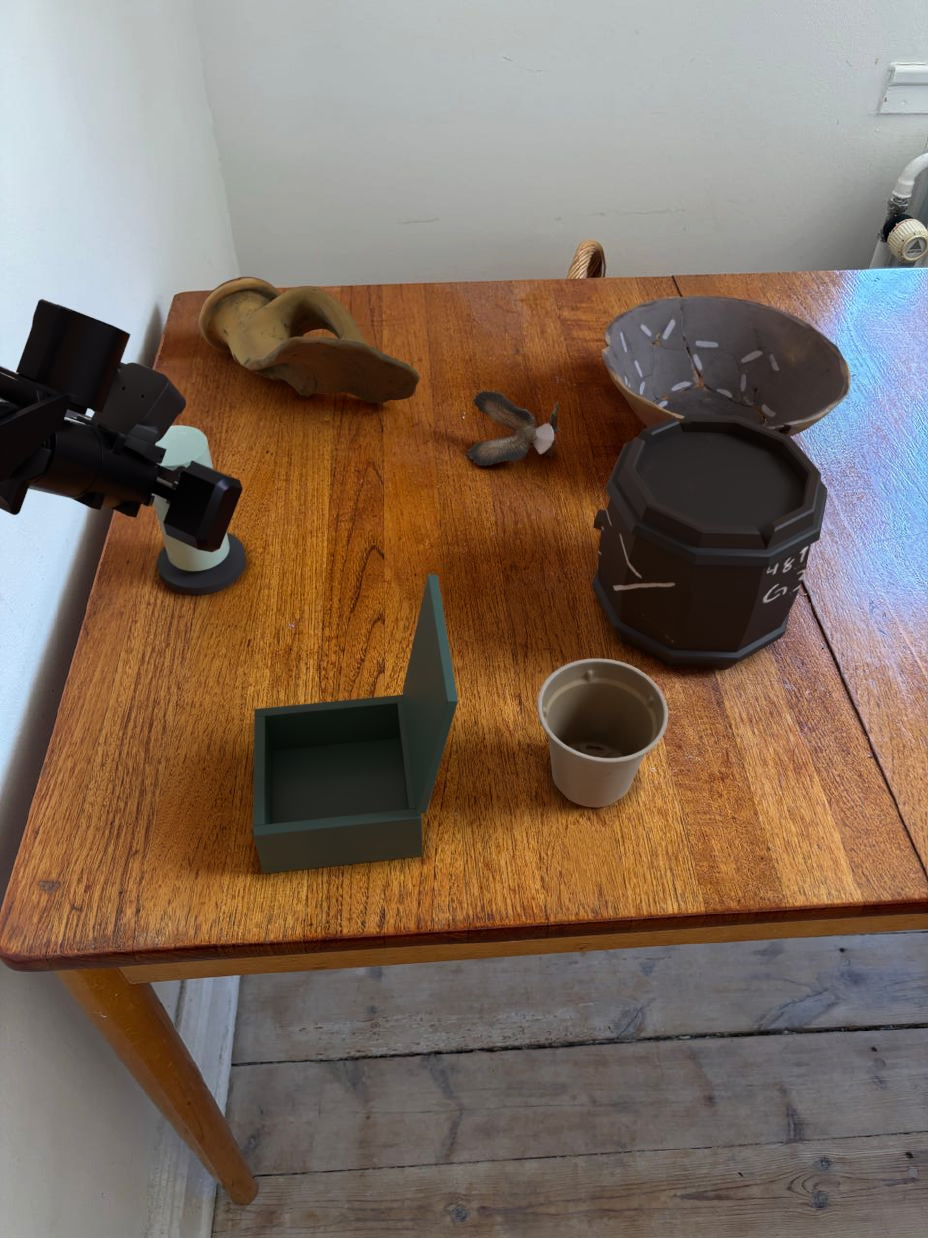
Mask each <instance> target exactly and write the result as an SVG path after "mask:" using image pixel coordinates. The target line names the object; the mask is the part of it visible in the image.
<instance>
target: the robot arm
mask: <svg viewBox="0 0 928 1238" xmlns="http://www.w3.org/2000/svg"><path fill="white" fill-rule="evenodd" d="M131 335H132V334H131V333H129V332H127V331H126V330H124V329H122V328H119V327H117V326H115V325H113V324H110V323H107V322H105V321H102V320H101V319H97V318H94V317H93V316H90V315H87V314H84V313H82V312H79V311H77V310H74V309H72V308H69V307H66V306H63V305H61V304H58V303H54V302H51V301H49V300H48V299H47V300H46V299H44V298H41V299H39V300H38V301H37V304H36V307H35V310H34V313H33V316H32V322H31V327H30V331H29V334H28V336H27V339H26V342H25V345H24V348H23V351H22V353H21V357H20V359H19V362H18V365H17V368H16V370H13V369H10V368H8V367H6V366H3V365H1V364H0V510H2V511H4V512H6V513H8V514H10V515H12V516H17V515H19V514H20V512H21V510H22V508H23V504H24V502H25V499H26V496H27V494H28V492H29V490H32V491H36V492H41V493H46V494H50V495H55V496H58V497H63V498H68V499H70V500H73V501H75V502H78V503H79V504H82V505H84V506H85V507H88V508H90V509H92V510H93V509H94V510H98V511H101V510H102V507H107V508H110V509H112V510H114V511H116V512H118V513H120V514H123V515H124V516H127V517H130V518H135V519H136V518H137V517H138V514H139V511H140V508H141V506H142V505H143V506H145V507H147V508H151V507H153V506H154V503H153V502H154V499H155V496H153V495H152V493H153V494H155V495H157V496H160V497H162V498H164V499H166V504H168V505H169V508H168V511H167V513H166V516H165V519H164V521H163V524H164V528H165V531H166V535H168V536H170V537H172V538H174V539H176V540H179V541H181V542H183V543H185V544H187V545H189V546H191V547H193V548H195V549H198V550H201V551H207V552H214V551H216V550H218V549H220V548H221V545H222V542H223V540H224V537H225V535H226V532H227V533H228V529H229V527H230V524H231V521H232V519H233V516H234V514H235V511H236V508H237V506H238V503H239V501H240V498H241V495H242V492H243V489H244V488H243V486H242V482H241V480H240V479H238V478H235V477H234V476H231V475H229V474H227V473H224V472H222V471H220V470H217V469H216V468H214V467H213V468H210V467H207V466H205V465H202V464H199V463H197V462H195V461H193V460H192V461H191V463H190V465H189V466H188V467H185V466H178V467H177V468H176V469H175V470H171V469H169V468H167V467H165V466H162V465H160V464H161V463H162V461H163V458H164V456H165V453H166V450H167V449H165V448H163V447H160V446H158V445H155V444H156V442H158V441H160V440H161V439H162V438H163V437H164V435H165V434H166V432H167V431H168V429H169V428H170V426H173V423H174V422H175V420H176V419H177V418H178V417H179V415H181V414H182V413H183V412H184V410H185V409H186V407H187V400H186V398H185V397H184V395H183V394H182V393H181V392H180V391H179V390H178V389H177V387H176V386H175V384H173V381H171V379H170V378H169V377H168V376H167V375H166V374H165V373H162V372H160V371H157V370H155V369H152V368H150V367H148V366H146V365H143V364H140V363H137V362H134V361H133V362H127V363H125V362H122V360H123V356H124V354H125V351H126V348H127V346H128V343H129V340H130V338H131ZM88 409H89V410H90V411H92V412H93V414H92V415H91V414H89V413H87V412H88ZM157 478H160V479H162V480H165V481H167V482H170V483H172V486H170V485H167V484H165V483H163V482H161V481H158V480H157Z"/></svg>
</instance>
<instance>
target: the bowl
mask: <svg viewBox="0 0 928 1238" xmlns="http://www.w3.org/2000/svg"><path fill="white" fill-rule="evenodd" d="M603 339H604V343H605V345H606V346H604V348H602V349H601V358H602V361H603V363H604V365H605V367H606V370H607V372H608V374H609V376H610V378H611V381H612V382H613V384H614V385H615V387H616V388H617V389H618V391H619V392H620V393H621V395H622V396H623V397H624V398H625V400H626V402H627V403H628V405H629V406H630V407H631V409H632V411H633V412H634V413H635V415H636V416H637V417H638V418H639V419H640V420H641V421H642V423H643V424H644V425H645V427H646V428H648V427H651V426H653V425H655V424H658V423H660V422H662V421H665V420H667V419H669V418H672V417H674V416H675V417H676V418H677V420H678V421H680V420H681V419H683V418H684V417H685V416H686V415H687V414H708V415H738V416H741V417H743V418H746V419H748V420H750V421H753V422H755V423H758V424H760V425H763V426H765V427H767V428H770V429H772V430H775V431H777V432H780V433H782V434H784V435H787V436H789V437H791V438H792V437H793V436H796V435H798V434H800V433H803V432H804V431H806V430H808V429H809V428H811V427H813V426H814V425H815V424H817V423H818V422H819V421H821V420H822V419H824V418H825V417H826V416H827V415H829V414H830V413H831V412H832V411H833V410H834V409H835V408H837V406H839V405H840V404H841V403H842V402H843V401H844V400H845V399H846V398H847V396H848V395H849V393H850V390H851V383H852V381H851V380H852V378H851V377H852V376H851V370H850V367H849V363H848V361H847V360H846V359H845V357H844V355H843V354H842V351H841V350H840V349H839V347H838V345H836V344H835V343H834V342H833V341H832V340H830V338H828V337H827V336H826V335H825V334H824V333H823V332H821V331H820V330H818V329H817V328H815V326H813V325H812V324H810V323H808V322H807V321H805V320H803V319H802V318H800V317H798V316H796V315H794V314H792V313H790V312H786V311H783V310H781V309H779V308H776V307H774V306H770V305H766V304H764V303H762V302H757V301H754V300H750V299H744V298H736V297H728V296H717V295H687V296H686V295H685V296H678V295H676V296H669V297H662V298H656V299H652V300H651V299H650V300H646V301H644V302H641V303H639V304H637V305H634V306H632V307H631V308H628V309H626V310H625V311H623V312H621V313H619V314H617V315H616V316H615V317H614V318H613V319H612V320H611V322H610V323H609V324H608V325H607V326H606V327H605V330H604V331H603ZM701 381H702V382H703V386H701Z"/></svg>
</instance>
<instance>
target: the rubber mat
mask: <svg viewBox="0 0 928 1238" xmlns="http://www.w3.org/2000/svg"><path fill="white" fill-rule="evenodd" d="M227 536H228V541H229V552H228V555H227V556H226V558H225V559H224V560H223V561H222V562H221V563H219V564H218V565H216V566H214V567H212V568H209V569H206V570H202V571H186V570H182V569H179V568H177V567H176V566H174V565H173V564H172V563H171V562H170V560H169V558H168V554H167V551H166V547H165V546H164V547H162V549H161V551H160V552H159V555H158V558H157V570H158V572H159V576H160V580H161V581H162V582H163V583H164V584H165V586H167V587H168V588H169V589H171V590H172V591H174V592H177V593H179V594H183V595H188V596H202V595H209V594H213V593H218V592H219V591H222V590H224V589H226V588H228V587H230V586H231V585H233V584H234V583H235V582H237V580H238V579H240V577H241V576H242V574H243V573H244V571H245V568H246V564H247V557H246V551H245V547H244V544H243V543H242V542H241V541H240V539H239V538H238V537H236V536H235V535H234V534H232V533H230V532H227Z"/></svg>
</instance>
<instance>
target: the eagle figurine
mask: <svg viewBox="0 0 928 1238" xmlns="http://www.w3.org/2000/svg"><path fill="white" fill-rule="evenodd" d="M474 397H475V398H473V399H472V402H473V403H474V406H475V407H476V408H477V411H479V412H480V413H483V414H484V415H486V416H487V417H489V418H490V419H491V420H493V421H494V422H495V423H497V424H498V425H501V426H504V427H506V428H508V429H510V430H513V431H514V434H512V435H510V436H505V437H499V438H494V439H490V440H485V441H477V442H476V443H475V444H474V445H472V446H471V448H469V449H468V450H467V456H468V458H469V459H470V460H473V463H474V464H477V465H478V466H485V467H487V466H492V465H493V464H500V463H501V462H502V463H503V462H508V461H509V462H516V461H520V460H521V459H524V458H525V457H526V456H527V453H528V451H529V449H531V448H532V447H534V448H535V450H536V451H537V453H538V454H539V455H542V454H544V453H546V456H549V457H550V458H552V457H553V446H554V447H558V443H557V442H556V440H555V437H556V434H557V433H562V429H561V428H557V427H558V419H559V410H560V403H561V402H560V401H556V403H555V405H554V406H553V411H552V412H551V413H550V417H549V422H545V423H544V424H541V425H539V426H535V425H536V424H535V423H536V420H535V417H534V416H533V414H531V412H530V411H528V409H527V408H520V407H519V406H516V404H515V403H514V402H511V401H510V400H509V399H508V398H506V397H505V395H504V394H503V393H500V392H499V391H492V390H490V391H489V390H486V391H485V390H482V391H481V392H478V393H477V394H475V395H474Z"/></svg>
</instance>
